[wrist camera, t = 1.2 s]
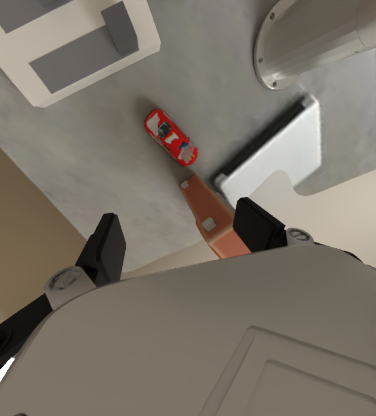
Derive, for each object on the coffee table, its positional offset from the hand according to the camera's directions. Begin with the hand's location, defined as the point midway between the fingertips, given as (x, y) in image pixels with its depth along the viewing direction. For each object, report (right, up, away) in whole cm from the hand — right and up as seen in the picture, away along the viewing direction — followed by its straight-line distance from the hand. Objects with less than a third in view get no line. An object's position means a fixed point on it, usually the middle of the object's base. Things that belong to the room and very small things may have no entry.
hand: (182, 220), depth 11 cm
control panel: (+4, +4, +29) cm, 30 cm away
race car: (-3, +16, +21) cm, 27 cm away
